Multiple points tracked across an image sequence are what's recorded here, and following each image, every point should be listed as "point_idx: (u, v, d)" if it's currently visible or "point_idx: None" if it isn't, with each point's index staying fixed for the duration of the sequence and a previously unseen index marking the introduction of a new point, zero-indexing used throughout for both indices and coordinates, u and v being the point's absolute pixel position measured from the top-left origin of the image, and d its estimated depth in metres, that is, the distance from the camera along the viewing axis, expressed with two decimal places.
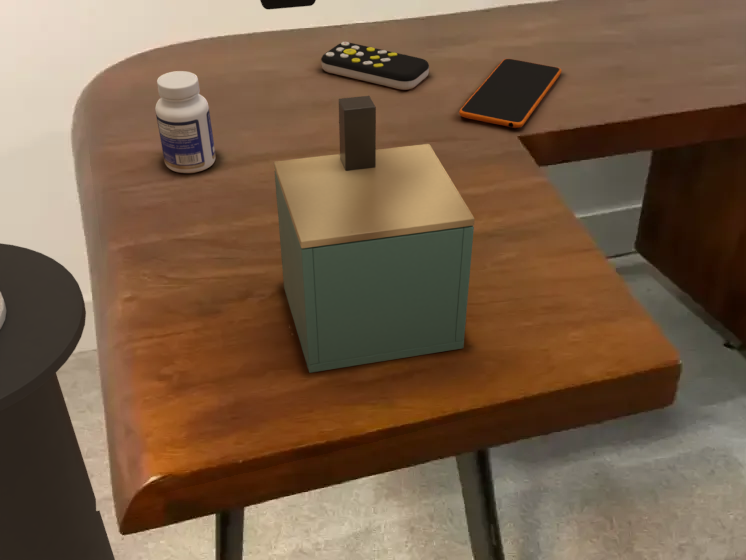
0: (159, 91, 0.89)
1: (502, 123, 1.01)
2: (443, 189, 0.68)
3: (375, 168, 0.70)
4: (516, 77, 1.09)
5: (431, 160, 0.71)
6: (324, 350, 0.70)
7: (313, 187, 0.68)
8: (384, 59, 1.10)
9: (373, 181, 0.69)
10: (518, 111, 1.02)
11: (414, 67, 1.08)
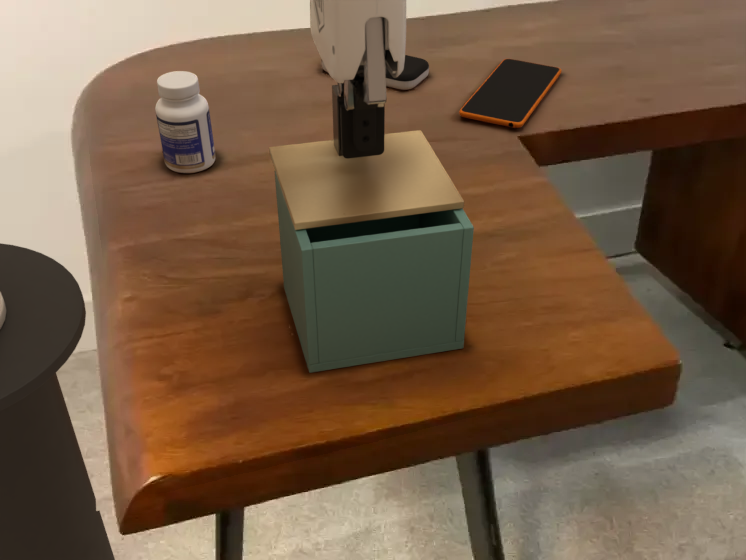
0: (159, 91, 0.89)
1: (502, 123, 1.01)
2: (433, 173, 0.70)
3: None
4: (516, 77, 1.09)
5: (422, 146, 0.73)
6: (324, 350, 0.70)
7: (307, 171, 0.70)
8: None
9: (366, 165, 0.71)
10: (518, 111, 1.02)
11: (414, 67, 1.08)
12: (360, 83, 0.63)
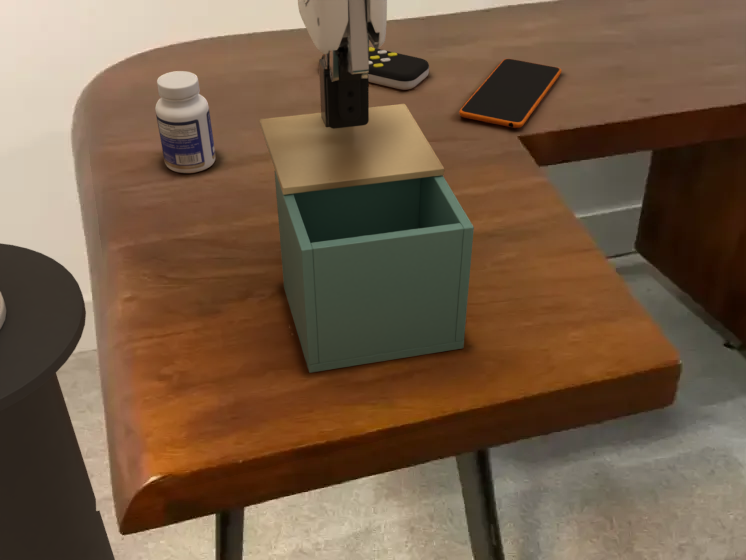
0: (159, 91, 0.89)
1: (502, 123, 1.01)
2: (415, 143, 0.73)
3: None
4: (516, 77, 1.09)
5: (406, 118, 0.77)
6: (324, 350, 0.70)
7: (295, 141, 0.73)
8: (384, 59, 1.10)
9: (352, 136, 0.74)
10: (518, 111, 1.02)
11: (414, 67, 1.08)
12: (344, 54, 0.66)
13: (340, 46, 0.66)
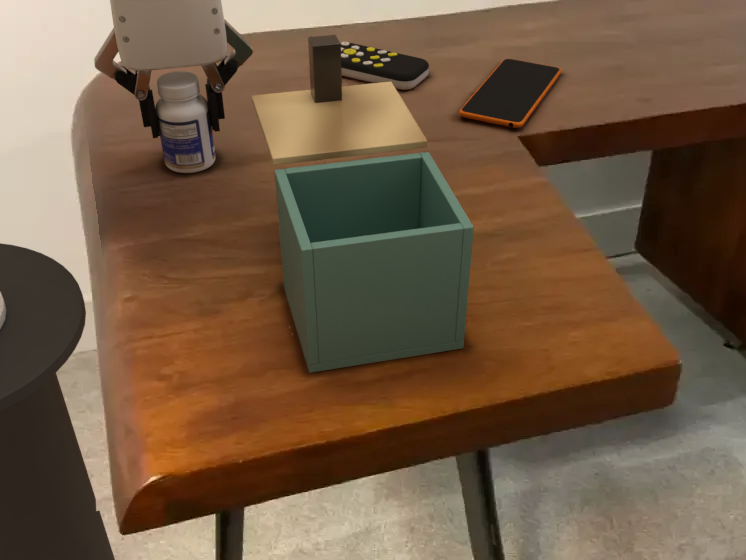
0: (159, 91, 0.89)
1: (502, 123, 1.01)
2: (400, 118, 0.77)
3: (341, 101, 0.79)
4: (516, 77, 1.09)
5: (392, 95, 0.80)
6: (324, 350, 0.70)
7: (286, 115, 0.77)
8: (384, 59, 1.10)
9: (340, 111, 0.77)
10: (518, 111, 1.02)
11: (414, 67, 1.08)
12: (120, 66, 0.88)
13: None
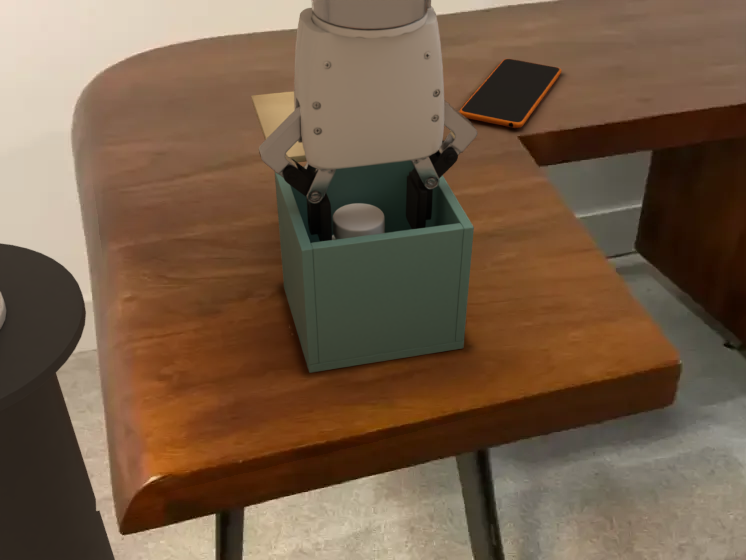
0: (336, 232, 0.69)
1: (502, 123, 1.01)
2: None
3: None
4: (516, 77, 1.09)
5: None
6: (324, 350, 0.70)
7: (286, 115, 0.77)
8: None
9: None
10: (518, 111, 1.02)
11: None
12: (289, 159, 0.66)
13: None
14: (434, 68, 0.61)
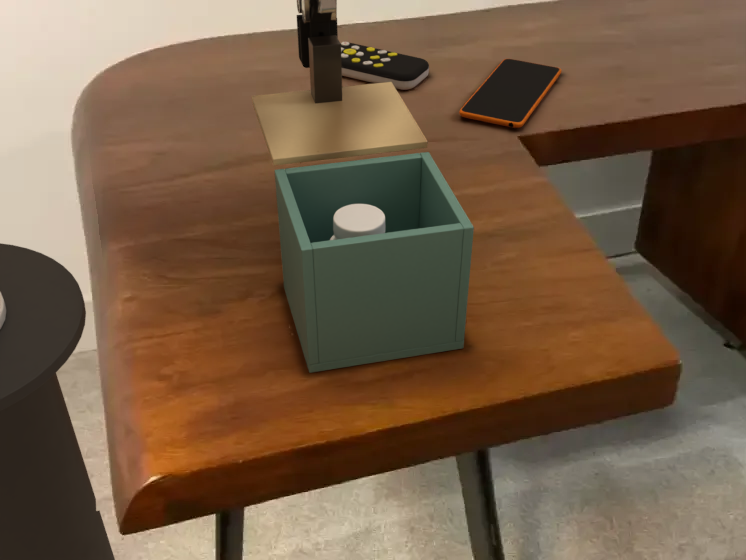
0: (336, 232, 0.69)
1: (502, 123, 1.01)
2: (401, 118, 0.77)
3: (342, 101, 0.79)
4: (516, 77, 1.09)
5: (392, 95, 0.80)
6: (324, 350, 0.70)
7: (286, 116, 0.77)
8: (384, 59, 1.10)
9: (340, 111, 0.77)
10: (518, 111, 1.02)
11: (414, 67, 1.08)
12: None
13: None
14: None
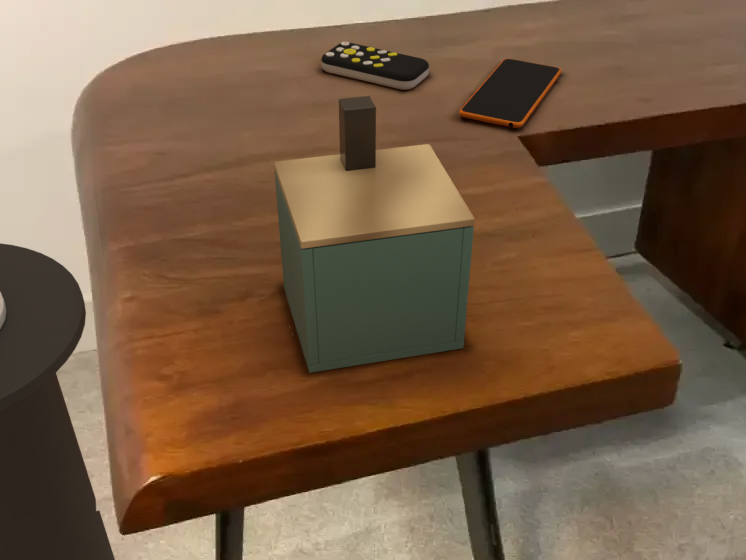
0: None
1: (502, 123, 1.01)
2: (443, 189, 0.68)
3: (375, 168, 0.70)
4: (516, 77, 1.09)
5: (431, 160, 0.71)
6: (324, 350, 0.70)
7: (313, 187, 0.68)
8: (384, 59, 1.10)
9: (374, 181, 0.69)
10: (518, 111, 1.02)
11: (414, 67, 1.08)
12: None
13: None
14: None
